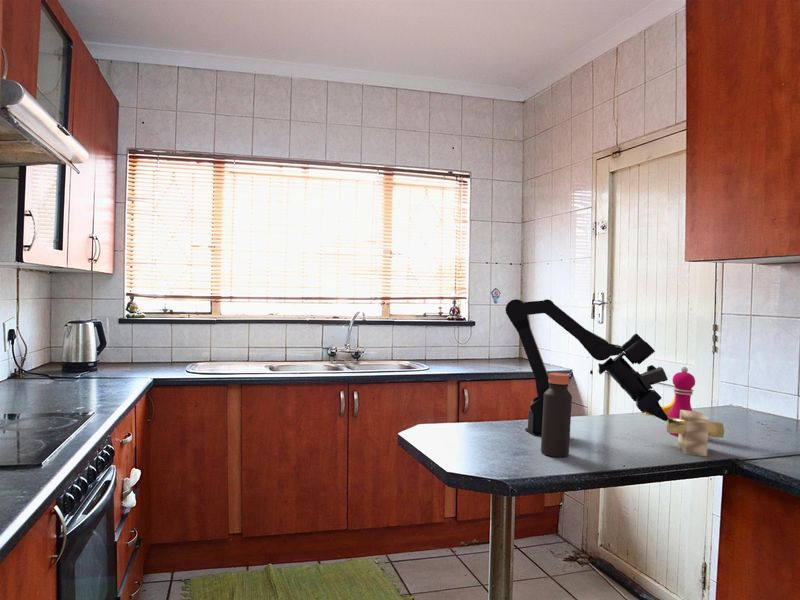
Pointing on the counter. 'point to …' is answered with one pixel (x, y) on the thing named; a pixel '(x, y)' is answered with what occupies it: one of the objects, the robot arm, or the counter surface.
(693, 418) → the beige lumpy block
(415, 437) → the counter surface
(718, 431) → the tan wooden bar
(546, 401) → the bottle
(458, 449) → the counter surface
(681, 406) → the pepper mill
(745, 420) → the counter surface
